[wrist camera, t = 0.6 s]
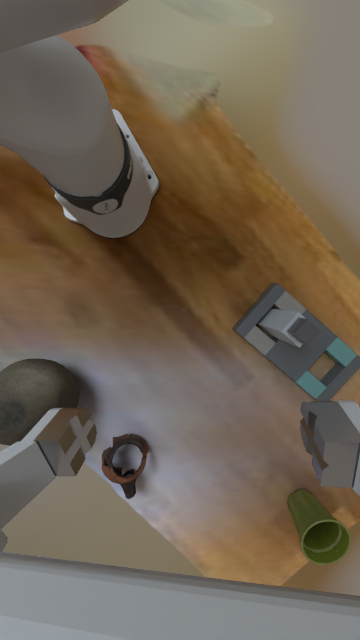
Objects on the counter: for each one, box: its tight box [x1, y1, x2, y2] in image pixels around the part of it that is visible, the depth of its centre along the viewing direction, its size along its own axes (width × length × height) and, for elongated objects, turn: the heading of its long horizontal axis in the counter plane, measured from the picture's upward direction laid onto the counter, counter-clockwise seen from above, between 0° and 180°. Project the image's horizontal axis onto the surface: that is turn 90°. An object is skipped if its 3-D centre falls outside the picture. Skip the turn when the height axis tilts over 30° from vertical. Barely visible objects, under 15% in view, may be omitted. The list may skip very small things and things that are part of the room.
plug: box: [257, 308, 321, 348], centre depth 39 cm, size 4×4×13 cm
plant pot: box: [288, 490, 351, 565], centre depth 46 cm, size 9×9×9 cm
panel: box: [233, 283, 360, 401], centre depth 45 cm, size 24×12×2 cm, turn 50°
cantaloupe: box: [0, 359, 79, 446], centre depth 39 cm, size 14×14×15 cm
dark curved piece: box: [102, 434, 148, 499], centre depth 46 cm, size 12×10×8 cm
